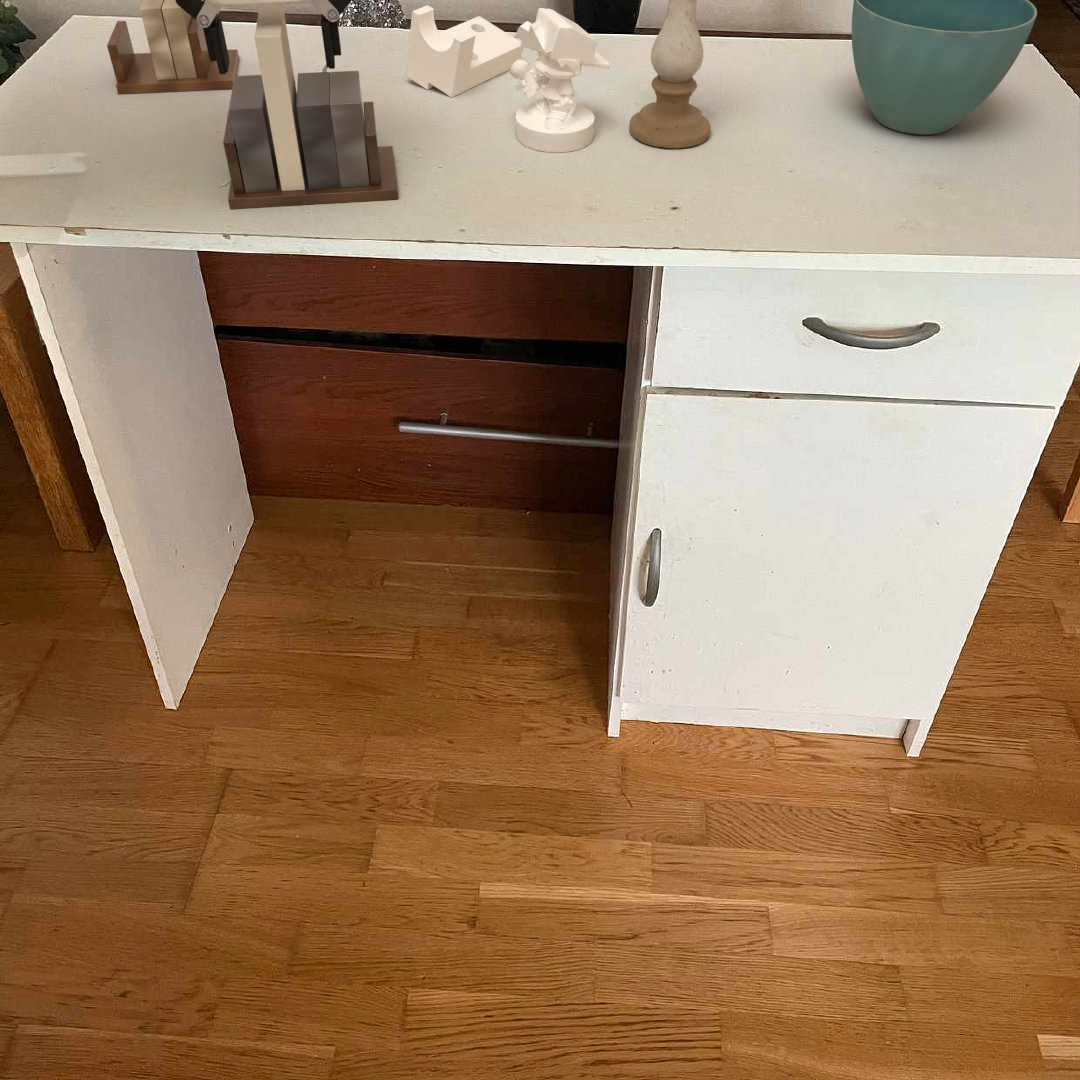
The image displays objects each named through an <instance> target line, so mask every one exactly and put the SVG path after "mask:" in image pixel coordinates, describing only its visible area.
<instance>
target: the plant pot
mask: <svg viewBox="0 0 1080 1080" xmlns="http://www.w3.org/2000/svg"><path fill="white" fill-rule="evenodd" d="M1037 16H1038V10H1037V8H1036V6H1035V4H1033V3H1032V2H1031V1H1030V0H853V5H852V14H851V51H852V57H853V65H854V68H855V69H854V70H855V74H856V77H857V81H858V83H859V86H860V89H861V92H862V94H863V96H864V99H865V101H866V103H867V105H868V107H869V109H870V111H871V113H872V115H873V116H874V117H875V119H876V120H877V121H878V122H879V123H880V124H881V125H883V126H884V127H886V128H888V129H890V130H893V131H895V132H900V133H905V134H910V135H920V136H921V135H922V136H923V135H924V136H925V135H937V134H941V133H945V132H947V131H949V130H951V129H952V128H954V127H955V126H957V125H958V124H959V123H960V122H962V121H963V120H964V119H966V118H967V117H968V116H969V115H970V114H972V113H973V112H974V111H975V110H976V109H977V108H978V107H979V106H981V105H982V104H983V103H984V102H985V101H986V100H987V99H988V98H989V96H990V95H992V93H993V92H995V90H996V88H998V87H999V85H1000V83H1002V81H1003V80H1004V78H1005V77H1006V76H1007V74H1008V72H1009V71H1010V70H1011V68H1012V67H1013V65H1014V64H1015V62H1016V60H1017V59H1018V57H1019V56H1020V53H1021V52H1022V50H1023V48H1024V46H1025V44H1026V42H1027V41H1028V38H1029V36H1030V33H1032V32H1031V31H1032V29H1033V26H1034V24H1035V21H1036V18H1037Z"/></svg>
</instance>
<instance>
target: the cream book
mask: <svg viewBox="0 0 1080 1080" xmlns="http://www.w3.org/2000/svg"><path fill="white" fill-rule="evenodd" d="M257 11H258V12H257V20H256V26H255V33H254V42H255V46H256V52H257V58H258V65H259V71H260V75H261V76H262V82H263V87H264V93H265V98H266V104H267V110H268V115H269V121H270V127H271V132H272V138H273V144H274V149H275V155H276V161H277V166H278V172H279V178H280V183H281V189H282V191H294V190H305V173H306V165H305V159H304V152H303V146H302V140H301V133H300V127H299V120H298V114H297V108H296V102H297V85H296V79H295V74H294V66H293V60H292V54H291V47H290V41H289V35H288V30H287V29H288V27H287V21H286V15H285V9H284V5H269V6H258V10H257Z"/></svg>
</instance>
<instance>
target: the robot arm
mask: <svg viewBox="0 0 1080 1080" xmlns="http://www.w3.org/2000/svg"><path fill="white" fill-rule="evenodd" d="M351 2H352V0H176V3H177V5H178V6H179V7H181V8H182V9H183V10H184V11H186V12H187V13H188V14H189V15H190V16H192V17H193V18H194V19H195V20H197V23H198V24H199V25H200V26H201V27H203V31H204V35H205V40H206V45H207V49H208V54H209V58H210V61H211V62H212V61H217V65H218V70H219V74H226V72H228V68H229V56H228V51H227V50H228V47H227V42H226V37H225V31H224V26H223V21H222V18H220V17H219V15H218V13H219V11H220V9H221V8H222V7H224V8H239V7H241V8H242V7H243V8H244V7H269V6H289V5H303V4H309V3H311V4H312V5H313V6H314V8H315V9H317V10H318V12H319V13H320V29H321V35H322V42H323V43H322V44H323V50H324V56H325V57H324V58H325V65H326V68H328V69H329V70H334V69H336V56H337V57H338V56H342V45H341V38H340V31H339V22H338V20H339V19H340V16H341V15H342V13H343V12H344V11H345V9H346V8H347V7H348V5H350V3H351Z"/></svg>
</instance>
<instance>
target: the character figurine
mask: <svg viewBox="0 0 1080 1080" xmlns="http://www.w3.org/2000/svg"><path fill="white" fill-rule="evenodd" d="M513 37H514V38H515V39H517V40H519V41H521V46H520V47H523V49H528V50H531V51H535V52H537V57H538V58H537V59H536V61H534V67H533V68H531V69H530V65H529V62H528V61H527V60H526V59H523V58H521V59H520V60H517V61H515V62H514V63H513V65H512V67H511V69H510V74H511V77H512V78H514V79H516V80H520V81H519V82H517V83H516V84H515V85H514V86H515V88H516V89H517V91H521V92H522V94H523V95H524V97H525V98H526V100H527V99H529V98H531V97H533V96H534V95H535V94H537V93H538V92H539V91H540V90H541V89H542V86H544V87H543V89H542V90H541V93H540V94H541V96H542V98H541V99H537V100H536V101H533V102H531V103H528V104H525V105H524V106H522V107H520V108H519V109H518V110H517V111H516V113H515V117H514V118H515V120H514V121H515V125H514V126H515V132H514V133H515V138H516V140H517V141H518V142H519V143H520V144H521V145H523V146H525V147H527V148H529V149H532V150H535V151H539V152H546V153H568V152H569V153H570V152H574V151H579V150H581V149H583V148H586V147H587V146H589V145H590V144H591V143H592V142H593V141H594V138H595V137H594V136H595V120H596V119H595V114H594V113H593V112H592V111H591V110H590V109H589V108H588V107H586V106H583V105H581V104H578V103H576V100H575V99H574V98H573V97H574V96H575V95H576V94H575V88H574V85H573V81H572V79H573V78H575V77H578V76H580V77H581V72H582V67H583V66H587V67H592V68H593V67H594V68H599V69H607V70H609V69H610V66H611V64H610V63H609V62H608V60H606V59H605V58H604V57H603V56H602V55H600V54H599V53H598V52H597V46H598V41H597V39H596V38H594V37H593V36H592V35H591V34H590V33H588V32H587V31H586V30H585V29H583V27H581V26H580V25H579V24H578V23H576V22H575V21H572V20H570V19H569V18H567V17H565V16H564V15H562V14H561V13H559V12H557V11H556V10H555V9H551V8H543V7H539V8H538V9H537V13H536V18H535V21H534V22H533V23H531V22H530V21H529V20H526V21H525V22H524V23H522V24H521V25H519V26H518V28H517V30H516V33H515V35H514V36H513ZM540 74H541V75H540Z"/></svg>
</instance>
